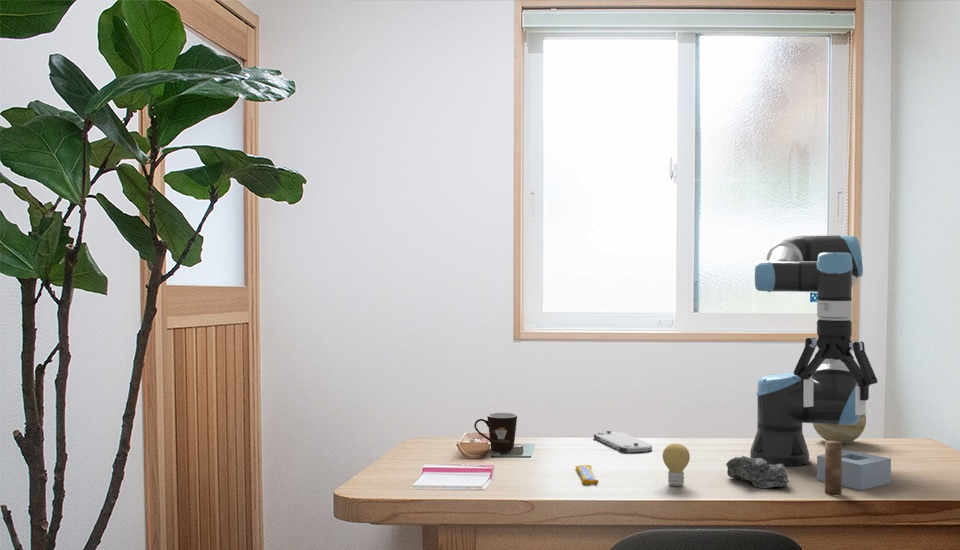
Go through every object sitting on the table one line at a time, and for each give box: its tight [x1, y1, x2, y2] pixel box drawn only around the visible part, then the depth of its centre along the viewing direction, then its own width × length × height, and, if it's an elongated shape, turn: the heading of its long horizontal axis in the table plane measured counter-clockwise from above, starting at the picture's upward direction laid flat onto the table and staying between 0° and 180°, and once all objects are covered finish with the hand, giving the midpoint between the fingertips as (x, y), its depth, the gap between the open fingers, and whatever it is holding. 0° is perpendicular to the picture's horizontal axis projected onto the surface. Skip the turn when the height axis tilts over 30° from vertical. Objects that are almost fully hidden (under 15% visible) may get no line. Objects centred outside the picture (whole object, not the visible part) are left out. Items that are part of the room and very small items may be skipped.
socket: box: [816, 449, 892, 491], centre depth 218 cm, size 12×12×6 cm
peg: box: [824, 440, 843, 496], centre depth 206 cm, size 4×4×12 cm
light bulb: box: [662, 442, 691, 487], centre depth 214 cm, size 6×6×10 cm
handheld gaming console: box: [593, 430, 653, 454], centre depth 261 cm, size 23×3×10 cm
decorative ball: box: [812, 414, 867, 445], centre depth 262 cm, size 15×15×15 cm
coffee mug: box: [473, 412, 518, 454], centre depth 254 cm, size 12×9×10 cm
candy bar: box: [575, 464, 599, 486], centre depth 223 cm, size 17×4×2 cm, turn 179°
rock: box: [725, 455, 790, 489], centre depth 215 cm, size 13×13×10 cm
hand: (833, 410), depth 206 cm, fingers open, 13 cm apart
